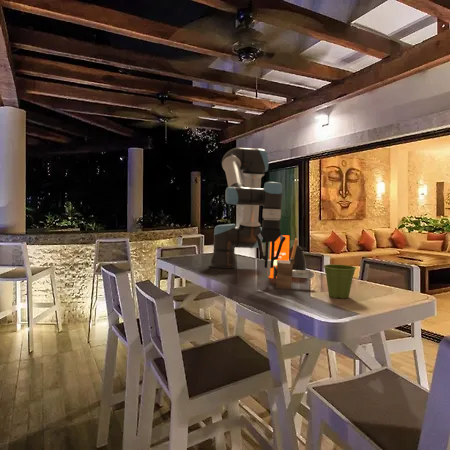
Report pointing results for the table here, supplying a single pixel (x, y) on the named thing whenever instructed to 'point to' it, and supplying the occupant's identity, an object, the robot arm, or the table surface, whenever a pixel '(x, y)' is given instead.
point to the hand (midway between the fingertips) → (268, 275)
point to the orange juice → (283, 253)
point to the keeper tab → (294, 248)
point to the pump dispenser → (298, 258)
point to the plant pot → (339, 279)
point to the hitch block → (284, 273)
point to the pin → (296, 273)
